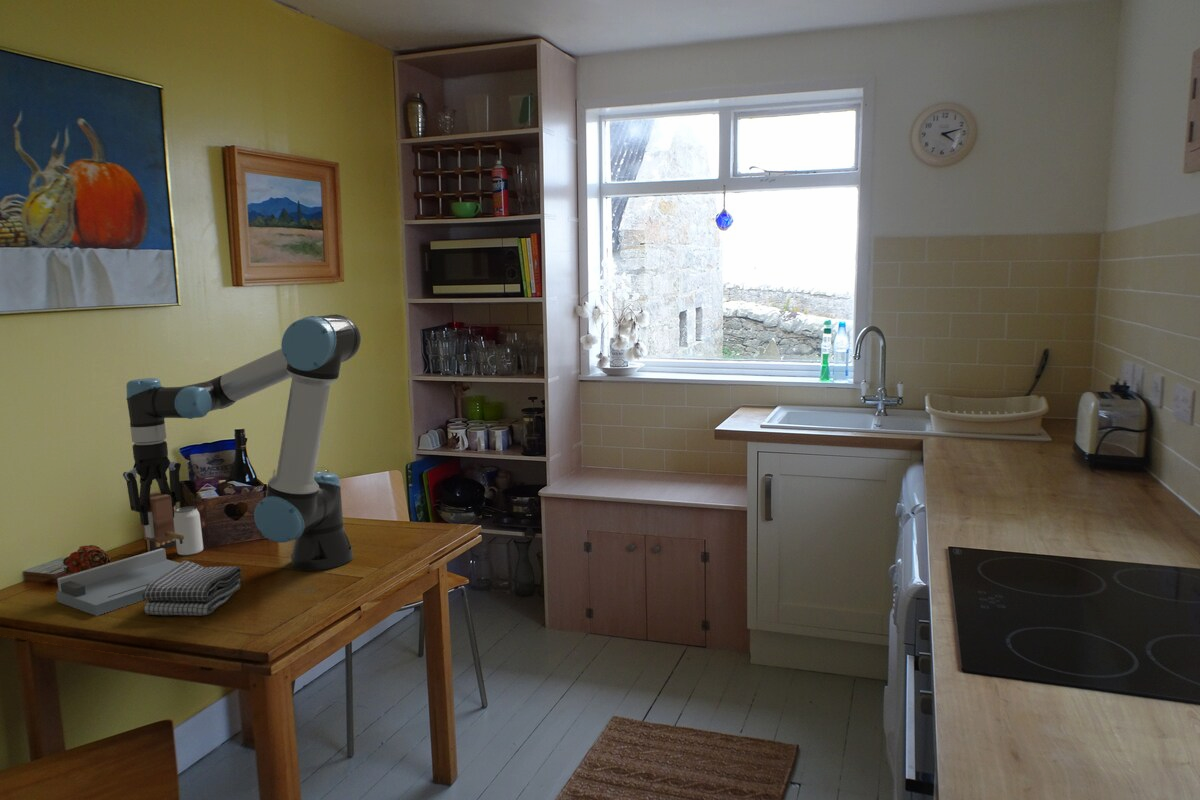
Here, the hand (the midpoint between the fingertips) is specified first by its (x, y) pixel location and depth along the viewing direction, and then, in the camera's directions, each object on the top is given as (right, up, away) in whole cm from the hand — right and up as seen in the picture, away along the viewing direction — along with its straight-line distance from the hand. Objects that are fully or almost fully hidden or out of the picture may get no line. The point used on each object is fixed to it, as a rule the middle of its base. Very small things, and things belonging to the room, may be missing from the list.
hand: (159, 534), depth 215 cm
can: (-2, -8, +21) cm, 22 cm away
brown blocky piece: (+3, -1, -2) cm, 3 cm away
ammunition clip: (-12, -8, +26) cm, 29 cm away
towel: (+18, -13, -17) cm, 28 cm away
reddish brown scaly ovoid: (-20, -11, +4) cm, 24 cm away
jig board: (-2, -12, -8) cm, 15 cm away
